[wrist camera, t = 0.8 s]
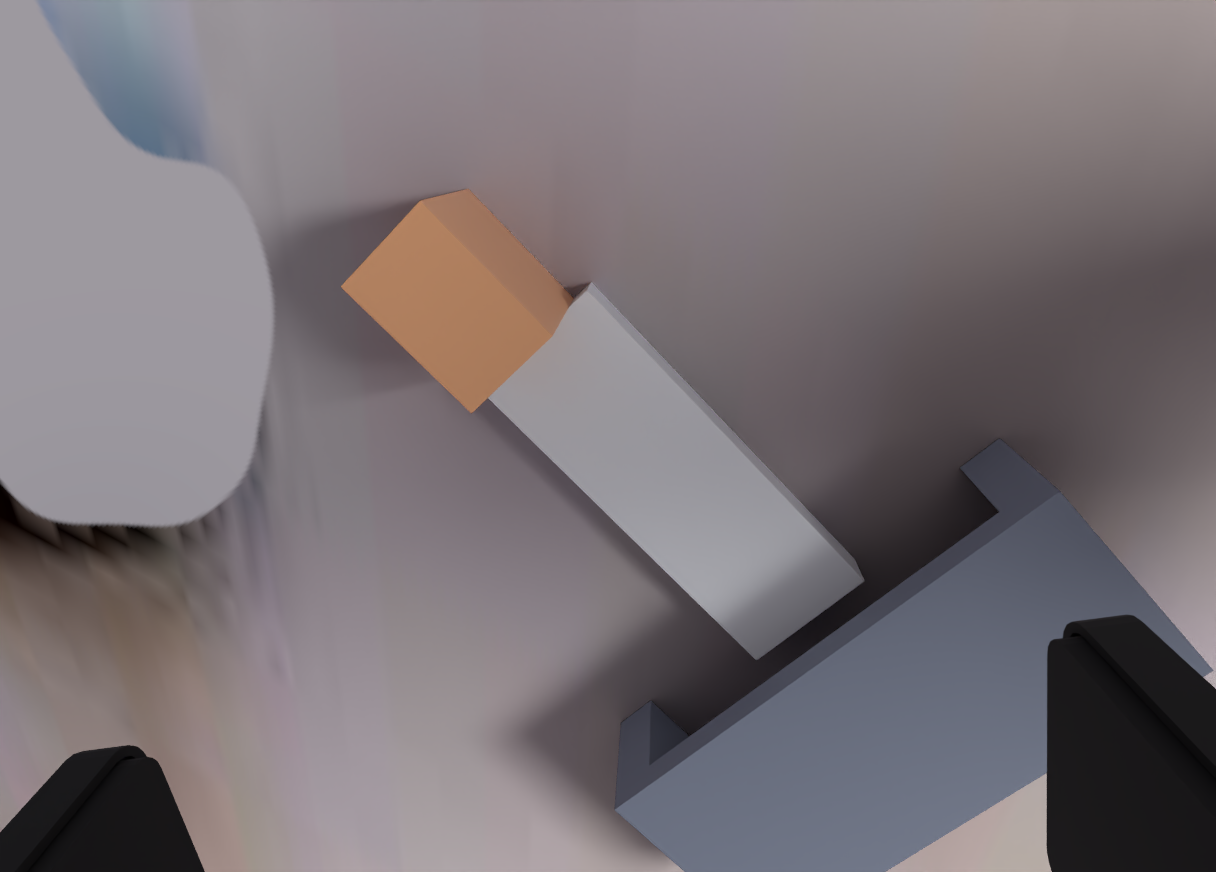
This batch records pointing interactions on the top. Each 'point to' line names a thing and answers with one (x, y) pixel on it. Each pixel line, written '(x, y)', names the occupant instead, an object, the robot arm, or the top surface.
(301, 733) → the top surface
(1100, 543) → the riser shelf
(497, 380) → the scraper tool
